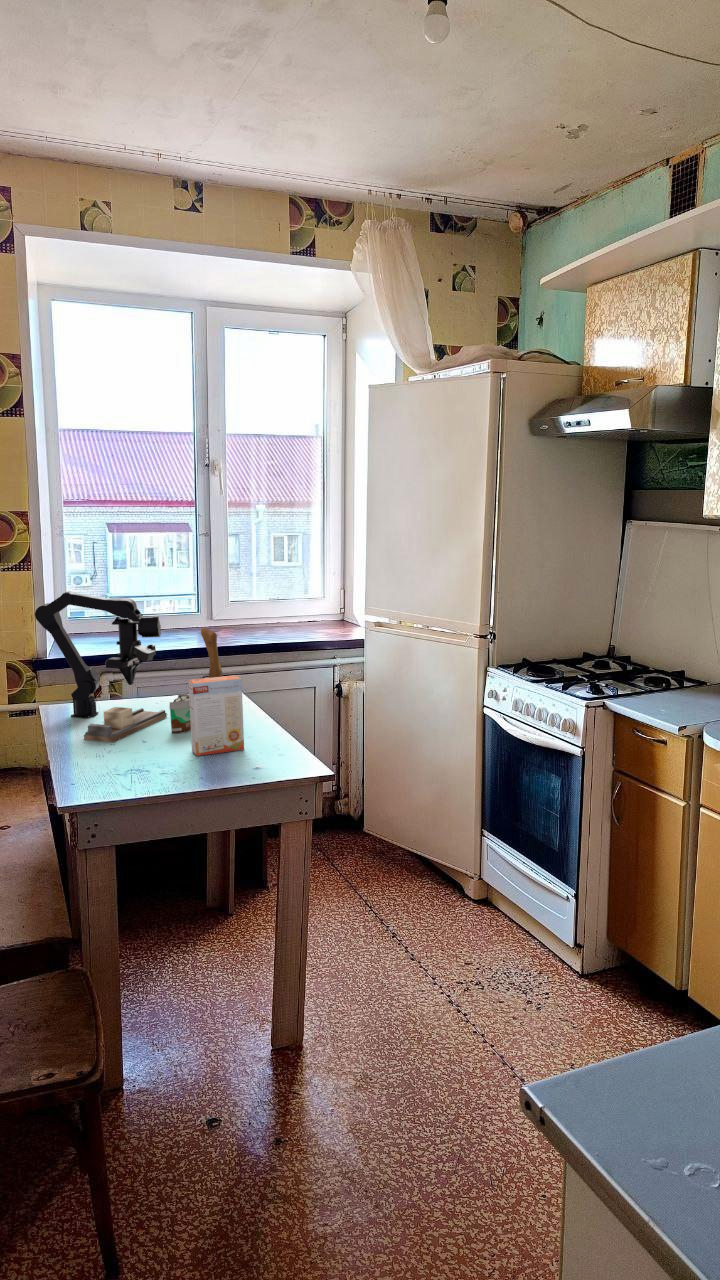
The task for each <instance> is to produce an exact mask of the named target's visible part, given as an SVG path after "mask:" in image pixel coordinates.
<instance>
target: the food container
mask: <svg viewBox="0 0 720 1280" xmlns="http://www.w3.org/2000/svg"><path fill="white" fill-rule="evenodd" d="M169 714H170V727H171V734H173V735H174V734H183V733H188V732H191V722H190V703H189V693H177V697H176V698H175V699H173V701H171V702H169Z"/></svg>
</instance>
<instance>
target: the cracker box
mask: <svg viewBox="0 0 720 1280" xmlns="http://www.w3.org/2000/svg"><path fill="white" fill-rule="evenodd" d="M242 680H243V679H242V678H241V677H240V676H237V675H235V674H234V675H227V676H226V675H225V676H224V675H223V677H213V678H208V677H205V678H195V679H189V680H188V695H189V703H190V722H191V730H190V739H191V751H192V753H193V754H194V755H195V756H196V757H200V756H207V755H213V754H214V755H215V754H223V753H228V752H229V753H230V752H237V751H243V750H245V734H244V709H243V683H242Z"/></svg>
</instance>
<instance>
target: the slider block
mask: <svg viewBox="0 0 720 1280" xmlns="http://www.w3.org/2000/svg"><path fill="white" fill-rule="evenodd" d="M132 712H133V708H132V707H123V706H121V707H119V706H114V707H111V708H109V709H107V710H104V711H103V724H104V725H111V726H112V728H114V729H122V728H124V727H126V726H128V725H131V724H133V719H132Z"/></svg>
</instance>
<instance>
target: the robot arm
mask: <svg viewBox="0 0 720 1280" xmlns="http://www.w3.org/2000/svg"><path fill="white" fill-rule="evenodd" d="M68 606H75V607H80V608H81V607H82V608H85V609H86V608H87V609H92V610H98V611H104V612H107V613H109V614H111V615H114V616H116V617H115V619H114V620H113V622H111V625H112V626H113V625H115V626H116V625H117V627H118V640H117V641H116V645H119V653H117V654H116V656H117V657H116V656H113V657H110V658H107V659H105V662H104V663H105V668H106V669H118V670H119V671H120V672H121V674H122V676H123V677H124V680H126V683H127V685H129V686H132V685H133V684H134V681H135V677H136V673H137V671H138V668H139V667H140V666H141V665H142V664H143V663H148V662H150V661H153V659H154V656H156V655H157V650H156V645H154V644H152V643H150V644H148V645H142V641H141V639H138V635H139V636H141V637H142V638H160V637H161V633H162V625H161V622H160V618H159V615H154V616H144V615H143V613H141V611H140V610H139V609H138V605H137V603H136V601H135V600H134V599H132V598H130V597H127V598H124V597H123V598H122V597H121V598H120V597H119V598H117V597H116V598H106V597H100V596H96V595H88V594H83V593H77V592H73V591H66V592H63V593H61V595H60V596H59V597H57V598H56V599H54V600H53V601H51V602H47V603H44V604H42V605H40V606H38V607H37V608H36V609H35V611H34V618H35V620H36V621H37V622H38V623H39V624H40V625H41V627H42V628H43V629H45V630H46V631H47V632H48V633H49V634H50V635H51V637H52V638H53V640H54V641H55V643H56V645H57V646H58V648H59V650H60V651H61V653H62V655H63V657H64V658H65V660H66V661H67V663H68V665H69V667H70V668H71V670H72V672H73V676H74V681H75V683H76V686H77V688H76V689H74V691H73V692H72V693H71V694H70V695H71V696H70V697H71V698H72V706H73V714H71V715H70V718H79V719H80V718H81V719H89V718H92V717H94V716H97V715H99V712H98V711H97V702H96V700H95V696H93V695H94V693H95V692H96V690H98V688H99V687H100V684H101V679H100V677H101V675H100V674H99V673H98V672H97V670H96V668H95V665H93V666H91V667H89V666H88V665H87V663H85V661H84V660H83V658H82V656H81V654H80V653H79V651H78V650H77V649H78V648H76V646H75V644H74V643H73V641H72V639H71V637H70V636H69V635H68V633H67V631H66V629H65V628H64V625H63V620H62V616H61V614H60V612H62V611H63V610H64V609H66V608H67V607H68Z"/></svg>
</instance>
